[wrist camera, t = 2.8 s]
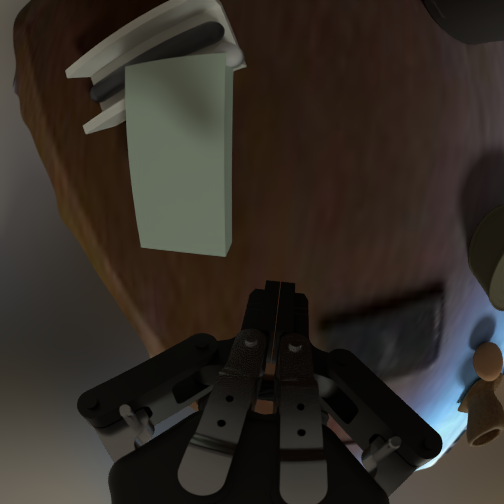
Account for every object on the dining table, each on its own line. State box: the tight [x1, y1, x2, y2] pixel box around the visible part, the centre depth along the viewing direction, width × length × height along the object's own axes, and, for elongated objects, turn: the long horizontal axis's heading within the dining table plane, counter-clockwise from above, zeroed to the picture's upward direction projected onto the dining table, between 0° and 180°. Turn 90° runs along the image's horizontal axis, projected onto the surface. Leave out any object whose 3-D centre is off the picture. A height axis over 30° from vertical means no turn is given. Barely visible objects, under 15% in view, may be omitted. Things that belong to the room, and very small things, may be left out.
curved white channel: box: [66, 0, 247, 134], centre depth 20 cm, size 16×8×6 cm, turn 109°
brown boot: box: [458, 373, 504, 447], centre depth 36 cm, size 15×12×15 cm
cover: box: [125, 42, 245, 257], centre depth 21 cm, size 17×9×2 cm, turn 179°
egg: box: [473, 342, 503, 381], centre depth 32 cm, size 6×6×8 cm
